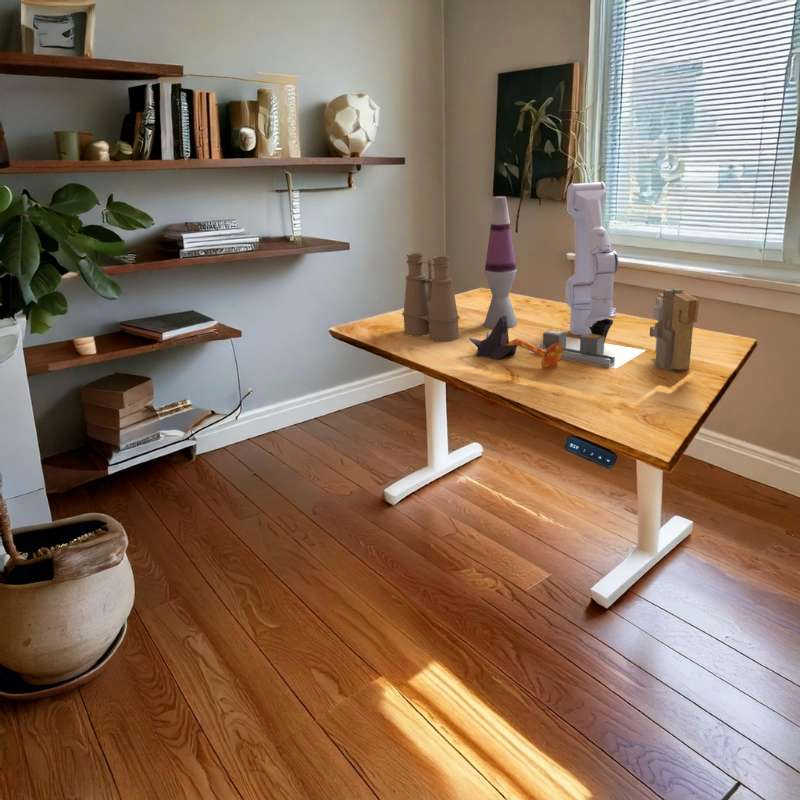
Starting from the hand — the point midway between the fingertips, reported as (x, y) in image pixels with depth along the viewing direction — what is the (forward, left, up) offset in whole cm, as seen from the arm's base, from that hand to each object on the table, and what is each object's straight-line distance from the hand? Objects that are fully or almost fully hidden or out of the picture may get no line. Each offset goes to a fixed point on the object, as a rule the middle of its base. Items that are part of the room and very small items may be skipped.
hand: (599, 345), depth 190 cm
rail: (+10, -2, -1) cm, 11 cm away
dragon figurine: (+19, -15, -2) cm, 24 cm away
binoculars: (+10, -52, -2) cm, 53 cm away
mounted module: (+7, -10, -1) cm, 12 cm away
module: (+4, 0, -1) cm, 5 cm away
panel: (+3, -2, -2) cm, 4 cm away
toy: (+2, +21, -2) cm, 21 cm away
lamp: (-11, -40, -2) cm, 42 cm away
